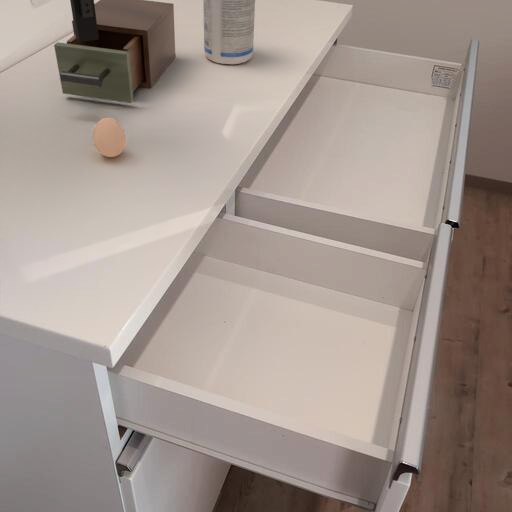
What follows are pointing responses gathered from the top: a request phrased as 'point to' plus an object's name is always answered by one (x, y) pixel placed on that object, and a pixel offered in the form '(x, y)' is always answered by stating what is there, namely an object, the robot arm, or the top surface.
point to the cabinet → (142, 30)
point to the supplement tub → (228, 30)
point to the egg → (109, 137)
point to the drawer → (102, 66)
